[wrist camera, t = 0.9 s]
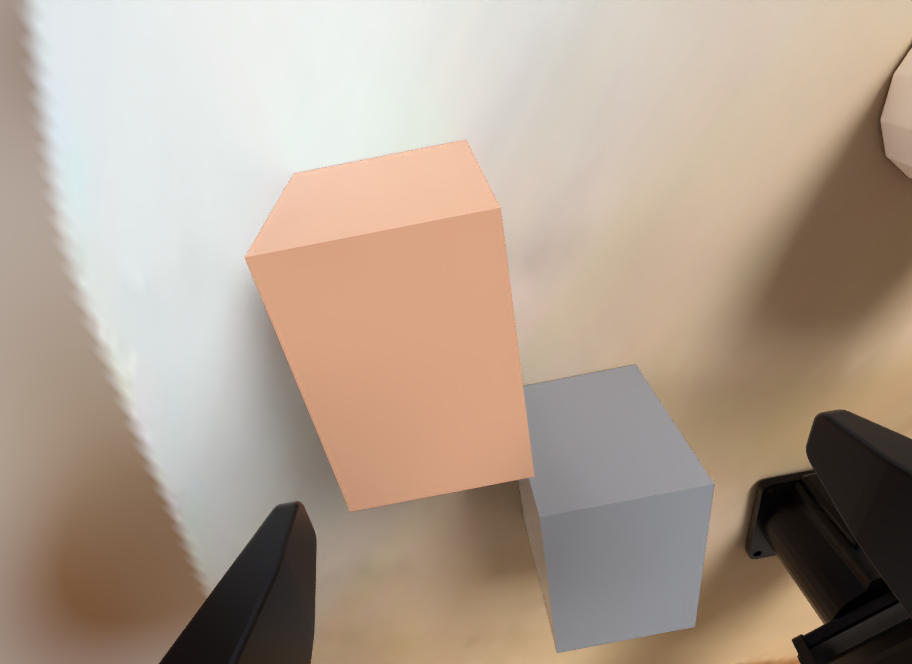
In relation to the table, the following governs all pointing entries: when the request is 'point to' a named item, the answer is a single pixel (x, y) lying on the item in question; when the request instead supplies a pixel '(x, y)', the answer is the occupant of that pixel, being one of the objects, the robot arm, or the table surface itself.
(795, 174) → the table surface
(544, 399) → the pale grey box
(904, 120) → the white cup
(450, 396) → the peach rectangular block
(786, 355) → the table surface
